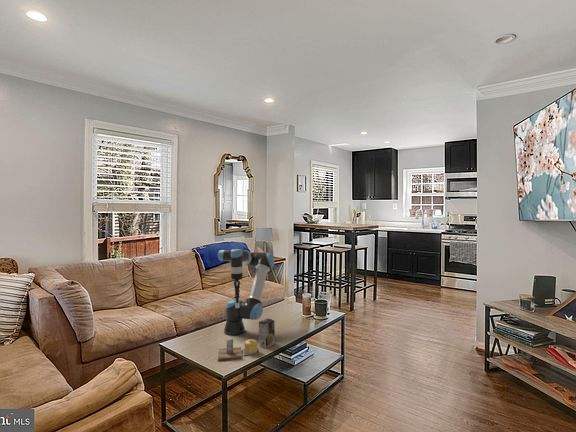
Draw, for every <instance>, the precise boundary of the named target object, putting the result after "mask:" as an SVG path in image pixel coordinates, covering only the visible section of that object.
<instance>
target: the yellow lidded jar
mask: <svg viewBox="0 0 576 432" xmlns="http://www.w3.org/2000/svg"><path fill="white" fill-rule="evenodd" d="M257 347H258V341H257V340H256V339H252V338H251V339H246V340H245V341H244V348H245V353H248V354H253V353H255V352H257Z"/></svg>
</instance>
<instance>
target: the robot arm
mask: <svg viewBox="0 0 576 432" xmlns="http://www.w3.org/2000/svg"><path fill="white" fill-rule="evenodd" d="M217 259H218V260H219V261H222V262H230V268H229V269H230V272H231V273H230V278H231V279H230V280H234V281H233V286H234V297H233V298H234V299H230V300H228V301H227V302H226V304H225V318H226V319H225V320H226V321H225V324H224V328H223V333H224V334H225V335H227V336H239V335H241V334H244V333H245V331H246V327H245V324H244V322H243V319H244V320H250V321H251V320H252V321H253V320H260V318H261V316H262V314H263V311H264V306H263V304H262V301H261V299H262V295H263V291H264V287H265V284H266V283H265V282H266V279H267V274H268V272H270V271H271V269H272V268H274V267H275V257H274V254H273V253H271V252H250V250H248V249H243V250H242V249H241V248H234V249H220V250H219V251H218V252H217ZM243 265H244V266H249V267H253V268H255V270H256V271H255V275H254V278H253V282H252V285H251V288H250V292H249V296H248V297H246V299H245V301H243V299H241V298H240V292H241V291H240V288H241V287H240V285H241V281H240V280H242V279H243V278H244V277H243V271H244V270H243Z"/></svg>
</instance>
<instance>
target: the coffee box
mask: <svg viewBox="0 0 576 432" xmlns="http://www.w3.org/2000/svg"><path fill="white" fill-rule="evenodd" d="M275 330H276V329H275V320H274V319H272V318H266V319H265V318H264V319H262V320H260V321H259V322H258V341H259V342H258V346H259V347H260V348H264V349H267V348H269V347H272V346H273V345H275V344H276V340H275V339H276V337H275V336H276V334H275Z"/></svg>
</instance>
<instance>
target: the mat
mask: <svg viewBox="0 0 576 432" xmlns="http://www.w3.org/2000/svg"><path fill="white" fill-rule="evenodd" d="M259 354H260V353H259V349H258V346H257V352H255V353H253V354H248V353H245V347H244V348H243V357H249V356H259Z"/></svg>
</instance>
